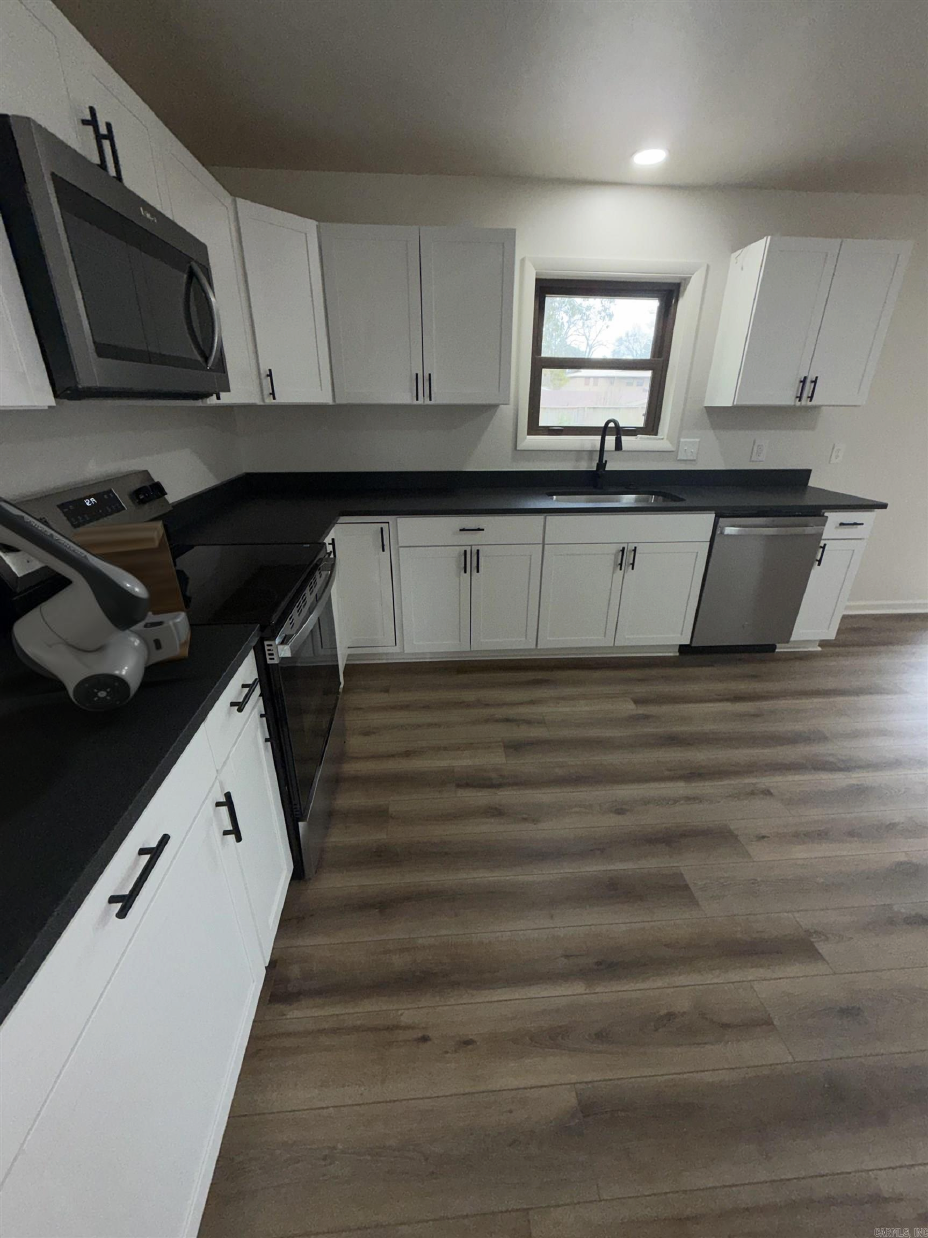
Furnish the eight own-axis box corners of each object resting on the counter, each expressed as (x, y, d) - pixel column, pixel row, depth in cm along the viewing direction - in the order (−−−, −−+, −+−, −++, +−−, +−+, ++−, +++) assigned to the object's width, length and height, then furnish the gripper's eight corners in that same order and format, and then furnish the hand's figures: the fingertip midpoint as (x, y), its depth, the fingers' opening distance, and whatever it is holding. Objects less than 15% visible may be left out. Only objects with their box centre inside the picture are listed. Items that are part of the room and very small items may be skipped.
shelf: (189, 664, 102) (154, 536, 91) (109, 678, 97) (62, 545, 86) (192, 636, 114) (161, 520, 103) (121, 647, 109) (81, 527, 97)
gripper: (54, 676, 84) (74, 641, 95) (188, 652, 91) (192, 623, 103) (40, 643, 81) (63, 611, 93) (180, 621, 89) (185, 595, 100)
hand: (132, 617), depth 98 cm, fingers closed on sprinkles bottle, 4 cm apart
